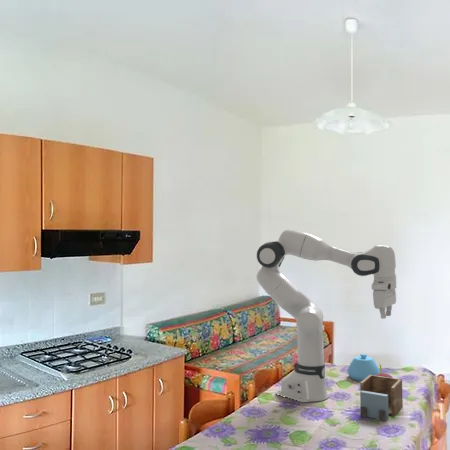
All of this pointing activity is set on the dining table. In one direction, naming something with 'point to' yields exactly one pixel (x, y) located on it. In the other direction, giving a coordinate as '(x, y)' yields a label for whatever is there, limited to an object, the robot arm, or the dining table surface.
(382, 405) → the door
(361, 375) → the sugar bowl
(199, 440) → the dining table surface
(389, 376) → the cupcake
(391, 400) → the cabinet
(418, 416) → the dining table surface
